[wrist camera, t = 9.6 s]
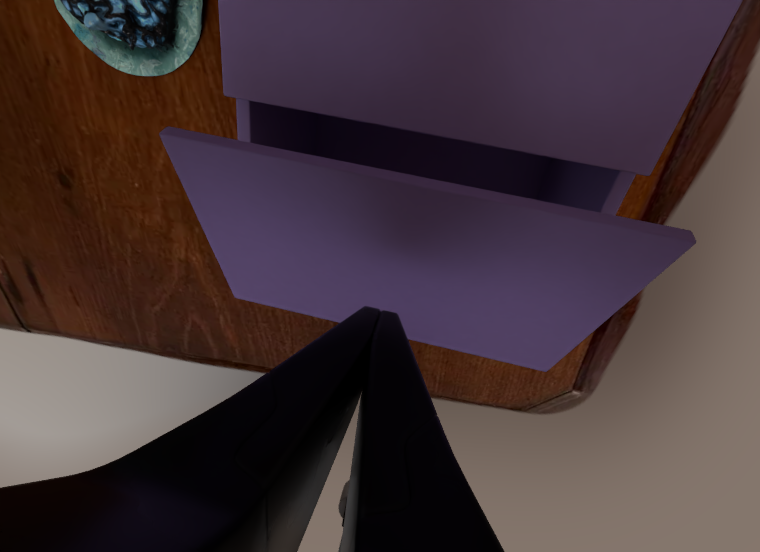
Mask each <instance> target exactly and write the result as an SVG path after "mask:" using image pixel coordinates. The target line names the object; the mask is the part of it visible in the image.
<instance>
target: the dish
mask: <svg viewBox="0 0 760 552" xmlns="http://www.w3.org/2000/svg"><path fill="white" fill-rule="evenodd" d="M54 1H55V4H56V7H57V9H58V11H59V12H60V13H61V15H62V17H63V18H64V19H65V21H66V22H67V23H68V24H69V26H70V27H71V29H72V31H73V32H74V34H75V35H76V36H77V37H78V38H79V39H80V40H81V41H82V42H83V43H84V44H85V45H86V46H87V47H88V48H89V49H90V50H91V51H92V52H94V53H95V54H96V55H97V56H98V57H100V58H101V59H102V60H104V61H105V62H106V63H107V64H109V65H110V66H112V67H114V68H116V69H118V70H120V71H123V72H126V73H129V74H133V75H138V76H158V75H164V74H167V73H169V72H172V71H174V70H175V69H176V68H178V67H179V66H180V65H182V64H183V63H184V62H185V61H186V60H187V59H188V58H189V57H190V55H191V54H192V52H193V50H194V48H195V46H196V44H197V42H198V40H199V37H200V33H201V27H202V20H203V7H202V5H203V2H202V0H54Z"/></svg>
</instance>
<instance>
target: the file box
mask: <svg viewBox="0 0 760 552" xmlns="http://www.w3.org/2000/svg"><path fill="white" fill-rule="evenodd" d="M742 1H743V0H218V2H219V20H220V38H221V56H222V73H223V91H224V95H225V96H228V97H233V98H236V105H237V130H238V140H239V141H244V142H249V143H254V144H259V145H264V146H269V147H274V148H279V149H284V150H289V151H294V152H299V153H304V154H309V155H314V156H319V157H324V158H329V159H334V160H339V161H344V162H349V163H354V164H359V165H364V166H369V167H374V168H379V169H384V170H389V171H394V172H399V173H404V174H409V175H414V176H419V177H424V178H429V179H434V180H439V181H444V182H449V183H454V184H459V185H464V186H469V187H474V188H479V189H484V190H489V191H494V192H499V193H504V194H509V195H514V196H519V197H524V198H529V199H534V200H539V201H544V202H549V203H554V204H559V205H564V206H569V207H574V208H579V209H584V210H589V211H594V212H599V213H604V214H609V215H614V216H615V214H616V213H617V211H618V209H619V207H620V205H621V203H622V201H623V199H624V197H625V195H626V193H627V191H628V189H629V187H630V185H631V183H632V181H633V179H634V177H635V175H636V174H640V175H645V176H649V175H650V174H651V172H652V171H653V169H654V167H655V165H656V163H657V161H658V159H659V157H660V155H661V154H662V152H663V150H664V148H665V146H666V144H667V142H668V140H669V138H670V137H671V135H672V133H673V131H674V129H675V127H676V125H677V123H678V121H679V120H680V118H681V116H682V114H683V112H684V110H685V108H686V106H687V104H688V103H689V101H690V99H691V97H692V95H693V93H694V91H695V89H696V87H697V86H698V84H699V82H700V80H701V78H702V76H703V74H704V72H705V70H706V69H707V67H708V65H709V63H710V61H711V59H712V57H713V55H714V53H715V52H716V50H717V48H718V46H719V44H720V42H721V40H722V38H723V36H724V35H725V33H726V31H727V29H728V27H729V25H730V23H731V21H732V19H733V18H734V16H735V14H736V12H737V10H738V8H739V6H740V4H741V2H742Z"/></svg>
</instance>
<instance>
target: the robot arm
mask: <svg viewBox="0 0 760 552" xmlns="http://www.w3.org/2000/svg"><path fill="white" fill-rule="evenodd" d="M361 392H362V394H361ZM360 395H361V400H360V406H359V414H358V421H357V429H356V436H355V445H354V452H353V459H352V467H351V475H350V482H349V490H348V496H347V501H346V506H345V511H344V516H343V521H342V527H344V528H343V535H342V539H341V543H340V547H339V552H504V550H503V548H502V546H501V544H500V542H499V541H498V539H497V537H496V535H495V533H494V531H493V529H492V528H491V526H490V524H489V522H488V520H487V518H486V516H485V514H484V512H483V510H482V509H481V507H480V505H479V503H478V501H477V499H476V497H475V496H474V494H473V492H472V490H471V488H470V486H469V484H468V482H467V480H466V478H465V476H464V474H463V472H462V470H461V468H460V466H459V464H458V462H457V460H456V458H455V456H454V454H453V452H452V449H451V447H450V445H449V442H448V440H447V438H446V436H445V433H444V430H443V428H442V425H441V423H440V420H439V418H438V416H437V413H436V410H435V408H434V405H433V403H432V400H431V397H430V395H429V392H428V390H427V387H426V385H425V382H424V379H423V377H422V374H421V372H420V369H419V367H418V364H417V361H416V359H415V356H414V354H413V351H412V349H411V346H410V343H409V341H408V338H407V336H406V333H405V331H404V328H403V326H402V323H401V320H400V318H399V315H398V314H397V313H395V312H391V311H386V310H382V311H380V309H378V308H373V307H369V306H364V307H362V308H361V309H359V310H358V311H356V312H355V313H354V314H352V315H351V316H349V317H348V318H346V319H345V320H343V321H342V322H340V323H339V324H338V325H336V326H335V327H333V328H332V329H330V330H329V331H327V332H326V333H325V334H323V335H322V336H320V337H319V338H317V339H316V340H314V341H313V342H311V343H310V344H309V345H307V346H306V347H304V348H303V349H301V350H300V351H298V352H297V353H295V354H294V355H293V356H291V357H290V358H288V359H287V360H285V361H284V362H282V363H281V364H279V365H278V366H277V367H275V368H274V369H272V370H271V371H270V372H269V373H266V374H265V375H263V376H262V377H260V378H259V379H257V380H256V381H255V382H253V383H251V384H250V385H248V386H247V387H245V388H244V389H242V390H241V391H239V392H238V393H236V394H234V395H233V396H231V397H230V398H228V399H226V400H224V401H223V402H221V403H219V404H218V405H216V406H214V407H213V408H211V409H209V410H207V411H206V412H204V413H202V414H201V415H198V416H197V417H195V418H193V419H191V420H189V421H187V422H186V423H184V424H182V425H180V426H178V427H177V428H175V429H173V430H171V431H170V432H168V433H166V434H164V435H162V436H160V437H158V438H157V439H155V440H153V441H151V442H149V443H148V444H146V445H144V446H142V447H140V448H138V449H137V450H135V451H133V452H131V453H129V454H127V455H125V456H123V457H122V458H119V459H117V460H115V461H113V462H110V463H108V464H106V465H103V466H100V467H98V468H95V469H93V470H90V471H86V472H82V473H79V474H75V475H70V476H66V477H59V478H54V479H48V480H42V481H37V482H31V483H25V484H19V485H14V486H8V487H2V488H0V552H297V551H298V548H299V546H300V543H301V541H302V538H303V536H304V533H305V531H306V528H307V526H308V524H309V521H310V519H311V516H312V514H313V511H314V509H315V506H316V504H317V502H318V499H319V496H320V494H321V492H322V489H323V487H324V485H325V482H326V480H327V477H328V475H329V472H330V470H331V467H332V465H333V463H334V460H335V458H336V455H337V453H338V450H339V448H340V445H341V443H342V440H343V438H344V436H345V433H346V431H347V428H348V426H349V423H350V421H351V418H352V416H353V414H354V411H355V409H356V406H357V404H358V400H359V398H360Z"/></svg>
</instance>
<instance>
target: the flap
mask: <svg viewBox="0 0 760 552" xmlns="http://www.w3.org/2000/svg"><path fill="white" fill-rule="evenodd" d="M159 135H160V137H161V140H162V142H163V144H164V146H165V148H166V150H167V153H168V155H169V157H170V159H171V161H172V163H173V165H174V168H175V170H176V172H177V174H178V176H179V178H180V180H181V183H182V185H183V187H184V189H185V191H186V193H187V196H188V198H189V200H190V202H191V204H192V206H193V208H194V211H195V213H196V215H197V217H198V219H199V221H200V224H201V226H202V228H203V230H204V232H205V234H206V236H207V239H208V241H209V243H210V245H211V247H212V249H213V251H214V254H215V256H216V258H217V260H218V262H219V264H220V267H221V269H222V271H223V273H224V275H225V277H226V279H227V282H228V284H229V286H230V288H231V290H232V292H233V295H234V297H235V298H239V299H243V300H247V301H251V302H256V303H260V304H264V305H268V306H272V307H276V308H281V309H285V310H289V311H293V312H297V313H302V314H306V315H310V316H314V317H318V318H323V319H327V320H331V321H335V322H339V323H340V322H342V321H343V320H345V319H346V318H348V317H349V316H351V315H352V314H354V313H355V312H356V311H358V310H359V309H361V308H362V307H364V306H369V307H373V308H378V309H380V311H382V310H386V311H391V312H395V313H397V314H398V315H399V318H400V320H401V323H402V326H403V328H404V331H405V333H406V336H407V338H408V339H410V340H415V341H419V342H423V343H427V344H431V345H436V346H440V347H444V348H448V349H452V350H456V351H461V352H465V353H469V354H473V355H477V356H482V357H486V358H490V359H494V360H498V361H503V362H507V363H511V364H515V365H519V366H523V367H528V368H532V369H536V370H540V371H544V372H547V371H548V370H549V369H550V368H551V367H552V366H554V365H555V364H556V363H557V362H558V361H559V360H561V359H562V358H563V357H564V356H565V355H566V354H568V353H569V352H570V351H571V350H572V349H573V348H575V347H576V346H577V345H578V344H579V343H580V342H582V341H583V340H584V339H585V338H586V337H587V336H589V335H590V334H591V333H592V332H593V331H594V330H595V329H597V328H598V327H599V326H600V325H601V324H602V323H604V322H605V321H606V320H607V319H608V318H609V317H611V316H612V315H613V314H614V313H615V312H616V311H618V310H619V309H620V308H621V307H622V306H623V305H625V304H626V303H627V302H628V301H629V300H630V299H632V298H633V297H634V296H635V295H636V294H637V293H639V292H640V291H641V290H642V289H643V288H644V287H645V286H647V285H648V284H649V283H650V282H651V281H652V280H653V279H655V278H656V277H657V276H658V275H659V274H660V273H662V272H663V271H664V270H665V269H666V268H668V267H669V266H670V265H671V264H672V263H673V262H675V261H676V260H677V259H678V258H679V257H680V256H681V255H682V254H684V253H685V252H686V251H687V250H688V249H690V248H691V247H692V246H693V245H694V244H695V243H696V240H695V237H694V235H693V233H692V232H691V231H689V230H684V229H679V228H674V227H669V226H664V225H659V224H654V223H649V222H644V221H639V220H634V219H629V218H624V217H619V216H614V215H609V214H604V213H599V212H594V211H589V210H584V209H579V208H574V207H569V206H564V205H559V204H554V203H549V202H544V201H539V200H534V199H529V198H524V197H519V196H514V195H509V194H504V193H499V192H494V191H489V190H484V189H479V188H474V187H469V186H464V185H459V184H454V183H449V182H444V181H439V180H434V179H429V178H424V177H419V176H414V175H409V174H404V173H399V172H394V171H389V170H384V169H379V168H374V167H369V166H364V165H359V164H354V163H349V162H344V161H339V160H334V159H329V158H324V157H319V156H314V155H309V154H304V153H299V152H294V151H289V150H284V149H279V148H274V147H269V146H264V145H259V144H254V143H249V142H244V141H239V140H234V139H229V138H224V137H219V136H214V135H209V134H204V133H199V132H194V131H189V130H184V129H179V128H174V127H166V128H165V129H164V130H163V131H161V132H160V133H159Z"/></svg>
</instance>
